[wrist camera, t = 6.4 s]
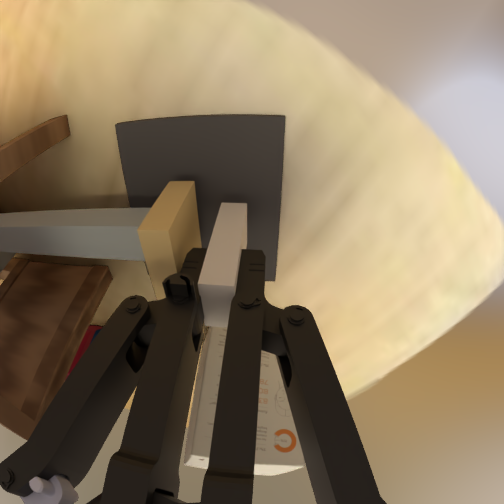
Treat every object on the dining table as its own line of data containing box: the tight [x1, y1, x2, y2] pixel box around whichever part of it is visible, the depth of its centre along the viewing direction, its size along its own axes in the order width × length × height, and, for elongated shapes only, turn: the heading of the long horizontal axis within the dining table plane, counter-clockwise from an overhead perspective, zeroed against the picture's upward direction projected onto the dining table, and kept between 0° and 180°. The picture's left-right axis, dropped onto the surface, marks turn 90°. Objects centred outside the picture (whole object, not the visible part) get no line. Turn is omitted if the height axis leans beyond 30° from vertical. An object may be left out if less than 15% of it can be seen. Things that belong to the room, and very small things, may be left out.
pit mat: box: [115, 115, 285, 281], centre depth 19 cm, size 10×12×1 cm
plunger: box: [0, 181, 202, 300], centre depth 16 cm, size 22×9×6 cm, turn 90°
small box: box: [184, 326, 305, 476], centre depth 22 cm, size 8×6×13 cm
